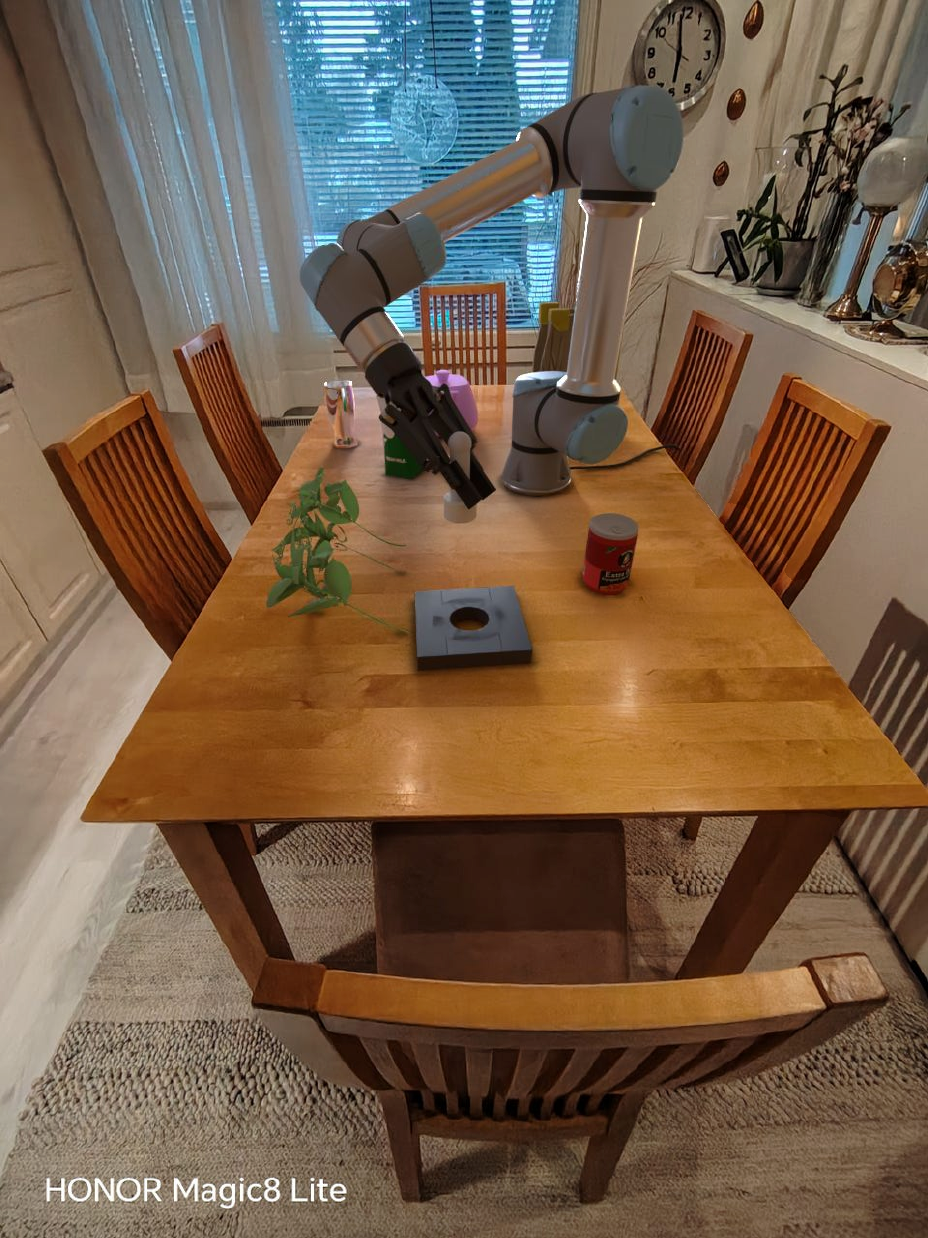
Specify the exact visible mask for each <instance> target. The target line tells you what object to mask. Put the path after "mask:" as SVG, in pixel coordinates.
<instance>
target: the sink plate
mask: <svg viewBox="0 0 928 1238" xmlns="http://www.w3.org/2000/svg"><path fill="white" fill-rule="evenodd" d="M413 595H414V612H415V613H414V615H415V616H414V617H415V641H416V661H417V662H416V663H417V670H418V671H431V670H432V671H433V670H446V669H447V670H448V669H461V668H463V669H464V668H476V667H490V666H493V667H494V666H502V665H506V666H507V665H519V664H531V663H532V659H533V647H532V644H531V640H530V637H529V633H528V629H527V626H526V623H525V618H524V614H523V612H522V608H521V604H520V601H519V598H518V593H517V590H516V588H515V585H500V586H483V587H467V588H466V587H465V588H464V587H463V588H451V589H450V588H449V589H448V588H447V589H446V588H445V589H432V590H428V589H427V590H415V591H414V594H413ZM463 621H476V622H480V623H482V624H484V626H483V627H481V628H478V629H476V630H475V629H474V630H465V629H461V628H458V627H456V626H454V625H456V624H457V623H460V622H463Z"/></svg>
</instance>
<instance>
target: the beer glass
mask: <svg viewBox="0 0 928 1238" xmlns="http://www.w3.org/2000/svg"><path fill="white" fill-rule="evenodd" d="M323 386H324V399H325V406H326V410H327V415H328V418H329V420H330V424H331V427H332V431H333V446H334V447H335V448H337V449H352V448H354V447H356V446H358V444H359V442H358V437H357V434H356V430H355V429H356V428H355V427H356V426H355V421H356V420H355V419H356V401H355V394H354V390H353V384H352V381H350V380H347V379H346V380H345V379H334V380H329V381H326V382H324V384H323Z"/></svg>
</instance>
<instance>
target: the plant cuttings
mask: <svg viewBox="0 0 928 1238" xmlns="http://www.w3.org/2000/svg"><path fill="white" fill-rule="evenodd" d="M324 471H325V470H324V466H321V467H319V468H318V470H317V471H316V474H315V477H314V478H313V480H308V481H306V482H304V483H302V484H301V485H300V487H299V489H297V491H298V500H299V506H298V507H297V502H295V501H294V502H290V503H288V502H286V503H285V504H286V505H288V506H289V507H290V508H289V511H288V513H287V514H288V515H289V516H290V517H289V518H288V519H286V521H285V524H286V526H291V525H293V526H292V529H291V530H290V531H288V533H287V534H285V536H284V537H283V539H280V543H279V544H277V546H274V547H273V548H271V551H272V552H274V553H275V554H276V555H278V557H274V554H272V555H271V556H272V561H273V564H274V567H275V568H274V570H276V572H277V575H278V576H279V578H280V580H278V581H277V582H275V584H274V585H272V587H271V588H270V590H269V592H268V595H267V599H266V602H265V603H266V604H265V605H266V608H267V610H269V609H271V608H273V607H275V606H276V605H278V604H280V603H281V602H283V601H284V600H286V599H287V598H289V597H291V596H292V595H293V594H295V593H296V592H297V591H299V590H300V591H303V592H305V593H308V594H309V595H311V596H312V597H313V598H314V599H313V600H311V601H310V602H309V603H308V604H307V605H304V606H303V607H301V608H299V609H298V610H296V611H294V612H293V613H291V614H289V615H288V616H287V618H288V619H289V618H292V617H295V616H296V617H297V616H302V615H307V614H312V613H316V612H320V611H324V610H327V609H329V608H331V607H339V608H342V609H344V610H345V611H349V612H351V613H352V614H355V615H358V616H360V617H362V618H364V619H366V620H368V621H372V622H373V623H376V624H379V625H380V626H382V627H385V628H388V629H390V630H393V631H396V632H398V633H400V631H402V632H405V633H406V634H410V631H408V630H405V629H402V628H400V627H398V626H395V625H393V624H390V623H388V622H385V621H384V620H381V619H379V618H377V617H376V616H373V615H371V614H369V613H367V612H365V611H363V610H361V609H359V608H357V607H355V606H353V605H351V604H349V603H348V602H349V599H350V598H351V594H352V590H353V589H352V587H353V581H352V577H351V573H350V572H349V569H348V567H347V566H346V565H345V564H344V563H343V562H341V561H339V560H336V559H335V558H334V557H332V558H331V556H332V555H333V554H334V553H335V552H334V551H335V550H336V551H338V548H339V547H340V546H341V547H344V548H345V549H339V551H340V552H341V551H342V552H346V551H349V550H351V551H353V552H355V553H357V554H358V555H361V556H363V557H365V558H368V559H369V560H371V561H374V562H375V563H378V564H379V565H382V566H385V567H386V568H389V569H390V570H393V571H395V572H397V573H400V574H402V573H401V572H400V571H399V570H398V569H396V568H393V567H392V566H390V565H387V564H386V563H383V562H381V561H379V560H377V559H375V558H373V557H370V556H368V555H365V554H363V553H361V552H359V551H356V550H355V549H352V548H349V547H347V546H346V545H345V544H343V543H346V542H348V538H347V536H346V532H345V530H344V528H343V527H341V525H344V524H349V523H352V524H355V525H356V526H358V527H359V528H361V529H362V530H364V531H365V532H366V533H368V534H369V535H370V536H372V537H374V538H376V539H377V540H379V541H380V542H382V543H385V544H387V545H389V546H393V547H407V544H397V543H393V542H391V541H388V540H385V539H383V538H381V537H379V536H377V535H376V534H374V533H373V532H371V531H369V530H367V529H366V528H364V527H363V526H361V525H360V524H359V523H357V522H356V521H358V518H359V515H360V505H359V501H358V498H357V496H356V494H355V492H354V490H353V489H352V488H351V487H350V485H349V484H348V482H347V480H346V479H344V480H342V481H336V482H333V483H332V482H328V483H326V484H325V485H324V489H323V491H324V494H325V496H326V497H328V499H327V501H326V502H324V503H322V497H321V496H322V492H321V491H322V490H321V489H322V483H323V482H324V473H325V472H324ZM340 501H341V503H342V505H343V507H344V509H345V510H344V511H343V512H342V507H341V506H340V505H338V504H340ZM316 510H317V511H318V513H319V514H320V515H321V517H322V518H323V519H324V520H325V521H327V522H329V523H328V524H327V527H325V524H324V522H323V521H322V519H321V518H320V516H318V514H317V512H316ZM311 512H313V513H314V520H313V519H312V517H311V516H310V514H309V513H311ZM299 519H300V521H299V525H298V527H296V524H297V523H298V520H299ZM294 520H295V522H294ZM293 523H294V524H293ZM335 526H336V527H338V528H339V530H341V531H342V533H343V535H344V540H340V539H339V536H338V534H336V533H335V532H334V531H333V528H334V527H335ZM315 537H318V538H319V539H318V540H317V542H316V543H315V545H314V547H313V546H312V538H315ZM305 539H306V540H305ZM335 540H337V541H338V542H334V543H333V546H334V547H335V548H337V549H335V548H333V546H332V544H331V541H335ZM287 545H290V559H291V560H290V562H289V565H286V564H282V559H283V557H284V552H285V547H286V546H287ZM296 545H297V547H296ZM312 548H313V549H312ZM288 551H289V549H286V552H288ZM305 551H306V553H307V555H306V561H304V553H305ZM330 558H331V559H330ZM314 569H318V573H319V574H320V573H321V572H323V579H319V580H318V581H317V580H316V576H315V570H314ZM304 571H305V572H304ZM320 583H322V588H321V587H319V584H320ZM328 596H329V597H330V598H329V597H328ZM340 604H343V606H344V607H342V606H341V605H340ZM346 605H347V606H348V607H350V608H352V609H354V610H355V611H358V612H359V613H361V614H363V615H360V614H359V613H357V612H354V611H352V610H350V609H348V608H345V607H346ZM364 615H365V616H364ZM368 617H369V618H368ZM370 618H371V619H370Z"/></svg>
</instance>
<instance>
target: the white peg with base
mask: <svg viewBox="0 0 928 1238" xmlns="http://www.w3.org/2000/svg"><path fill="white" fill-rule="evenodd" d="M448 446H449V447H448ZM448 446H447V447H448V449H449V458H450V463H451V462H452V461H454V460H456V461H457V462H458V463H459V465H460V466H461V468H462V469H463V471H464V472H465V474H466V475H467V476H468V478H469V479H470V448H471V439H470V437H469V436H468V435H467V434H466V433H464V432H455V433H453V434H452V435H451V436H450V438H449V441H448ZM449 488H450V487H449ZM477 505H478V503H477V504H476V505H475V506H473V507H472V508H471V509H469V510H468V508H467V507H466V505H465V504H464V502H463V501H462V500H461V498H460V497H459V495H458V494H457V492H456V491H455V490H453V489H452V488H450V489H449V492H447V493H445V494H444V496H443V517H444V519H445V520H446V521H447V522H449V523H452V524H467V523H471V522H474V521H475V520H476V518H477V515H478V514H477V509H478V508H477Z"/></svg>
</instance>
